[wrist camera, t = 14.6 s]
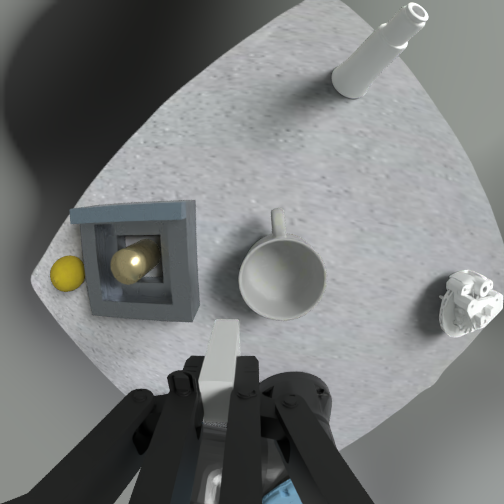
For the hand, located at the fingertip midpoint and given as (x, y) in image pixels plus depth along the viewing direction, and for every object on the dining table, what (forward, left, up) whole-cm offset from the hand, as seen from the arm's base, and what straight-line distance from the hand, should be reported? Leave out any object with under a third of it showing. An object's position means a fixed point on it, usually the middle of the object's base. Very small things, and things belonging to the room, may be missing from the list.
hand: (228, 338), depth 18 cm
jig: (0, +15, -24) cm, 28 cm away
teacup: (0, -5, -25) cm, 25 cm away
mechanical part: (-8, -38, -25) cm, 46 cm away
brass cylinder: (0, +14, -24) cm, 28 cm away
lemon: (-2, +27, -25) cm, 37 cm away
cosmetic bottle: (+27, -16, -25) cm, 40 cm away
